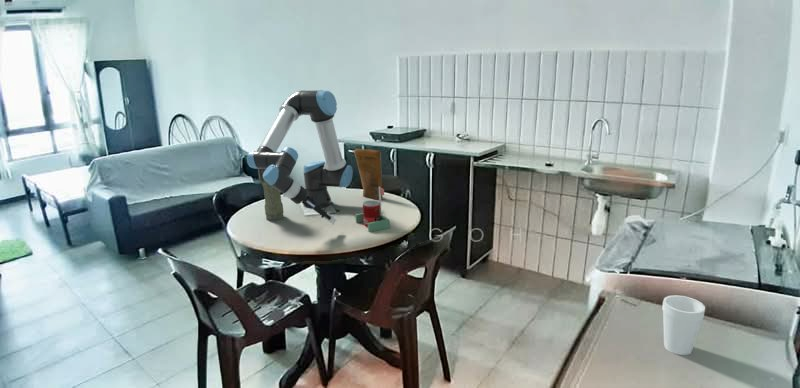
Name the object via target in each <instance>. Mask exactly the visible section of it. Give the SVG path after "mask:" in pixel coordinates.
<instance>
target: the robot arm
mask: <svg viewBox="0 0 800 388" xmlns="http://www.w3.org/2000/svg"><path fill="white" fill-rule="evenodd" d="M337 106H338V104H337V99H336V97H335V95H334V94H333V92H331V91H329V90H323V89H319V90H299V91H296V92H294V93H292V94H291V95H290V96H289V97H287V98H286V99H285V100H284V101H283V102H282V104H281V106H280V107H279V112H278V114H277V117H276V118H275V120H274V122H273V123H272V124H271V126H270V128H269V130H268V132H267V133H266V135H265V137H264V138H263V140H262V141H261V142H260V143H261V144H260V145H259V147H258V148H257V149H256V151H255V150H254V151H250V152H248V154H247V157H246V163H247V165H248V167H250V168H252V169H257V170H258V169H261V170H262V169H266V170H265V171H264V173H263V179H264V180H265V181H266V182H267V183H269V185H271V186H273V187H274V188H275V189H277V190H278V191H280V194H283V197H286V198H288V199H289V200H290V201H292V202H293V203H294V204H296V205H299V204H301V203H302V204H303V206H304V207H306V208H309V209H310V210H312V211H313V210H314V211H315V212H316V213H317V214H319V216H320V218H322V219H325V220H326V221H327V222H329V223H331V224H332V225H335V223H336V222H337V220H338V219H337V218H335V217H334V216H332V215H331V214H330V213H328V212H327V211H326V209H325V208H324V207H328V206H330V205H331V204H332V198H331V195H330V193H329V191H328V187H333V188H336V187H337V188H348V187H349V186H350V185H351V183H352V179H353V173H354V171H353V167H352V166H351V165H349V164H347V161H346V159H345V158H343V157H342V152H341V148H340V144H339V140H338V137H337V132H336V129H335V124H334V117H335V114H336V113H337V110H338V109H337V108H338V107H337ZM301 116H309V117H310V120H311V122H313V123H314V124H315V128H316V130H317V135H318V138H319V142H320V146H321V149H322V151H323V152H322V153H323V156H324V160H325V161H324V160H317V161H313V162H308V163H306V164H304V165H303V179H304V187H303V185H301V184H300V183H298V181H296V180H295V179H293V177H291V176H290V175H291V173H292V171H293V169H294V167H295V166H296V164H297V161H298V158H299V153H298V151H297V150H296V149H294V148H293V147H291V146H286V147H283V149H282V150H281V151H280V152H278V150H279V148H280V147H281V144H282V143H283V141H284V139H285V137H286V136H287V134H288V132H289V130H290V128H291V127H292V125H293V124H294V122H295V121H297V120H298V119H299V117H301ZM323 208H324V209H323Z"/></svg>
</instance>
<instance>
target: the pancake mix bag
mask: <svg viewBox="0 0 800 388" xmlns="http://www.w3.org/2000/svg"><path fill="white" fill-rule="evenodd" d="M353 152H354V156H355V159H356V160H355V161H356V164H357V168H358V173H359V176H360V177H359V178H360V181H361V186H362V189H363V190H362V197H365V198H368V199H372V200H375V201H378V200H379V187H380V188H382V187H383V183H382V180H383V176H382V175H383V174H382V173H383V172H382V151H380V150H378V149H377V150H376V149H368V148H367V149H365V148H364V149H362V148H355V149H354V150H353ZM382 189H383V188H382ZM383 196H384V195H382V194H381V200H383V199H384V197H383Z"/></svg>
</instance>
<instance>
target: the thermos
mask: <svg viewBox="0 0 800 388" xmlns="http://www.w3.org/2000/svg"><path fill="white" fill-rule="evenodd" d="M265 170H266V169H257V174H258V181H260V182H261V185H262V187H263V194H264V202H265V203H264V213H265V216H266V217H265V218H266V221H270V220H274V221H279V220H282V219H284V217H285V216H284V212H285V211H284V204H283V201H282V197H281V194H282V193H281V192H280V191H278V190H277V189H275V188H274V187H273V186H271V185H269V183H267V182H266V181H265V180H264V179H263V173H264V171H265Z"/></svg>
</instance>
